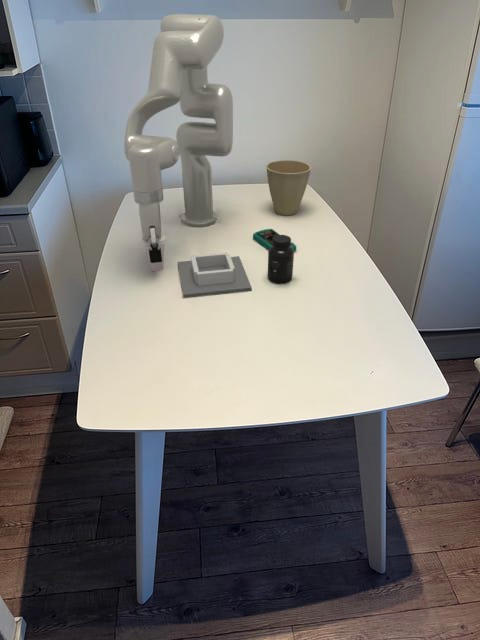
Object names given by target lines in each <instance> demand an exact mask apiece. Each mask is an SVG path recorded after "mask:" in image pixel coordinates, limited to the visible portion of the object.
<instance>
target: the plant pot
mask: <svg viewBox="0 0 480 640" xmlns="http://www.w3.org/2000/svg"><path fill="white" fill-rule="evenodd" d="M311 169H312V167H311V165H310V164H309V163H306V162H303V161H299V160H294V159H289V160H288V159H282V160H281V159H280V160H275V161H271V162H269V163H267V164H266V175H267V184H268V188H269V189H268V190H269V193H270V194H269V195H270V198H271V201H272V205H273V207H274V212H275V213H277V214H278V215H282V216H291V215H294V214H295V215H296V213H297V211H298V209H299V207H300V204H301V203H302V200H303V198H304V195H305V192H306V188H307V185H308V182H309V178H310V174H311Z"/></svg>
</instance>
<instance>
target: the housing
mask: <svg viewBox="0 0 480 640" xmlns="http://www.w3.org/2000/svg"><path fill="white" fill-rule="evenodd" d="M190 259H191V260H185V261H183V260H182V261H177V268H178V273H179V279H180V284H181V289H182V296H183V298H184V299H186V298H195V297H196V298H197V297H204V296H216V295H224V294H235V293H243V292H252V291H253V290H252V289H253V288H252V285H251V283H250V280H249V277H248V275H247V273H246V270H245V267H244V265H243V263H242V260H241V258H240V256H239V255H237V256H231V255H230V253H228V252H216V253H207V254H206V253H205V254H203V253H202V254H195V255H192V257H190Z"/></svg>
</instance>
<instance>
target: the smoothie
mask: <svg viewBox="0 0 480 640" xmlns="http://www.w3.org/2000/svg"><path fill="white" fill-rule="evenodd" d="M149 236H150V235H149ZM156 238H157V236H156ZM150 239H151V236H150ZM165 242H166V236H165V234H163V233H161V239H159V246H160V248H161V256H162V262H157V263H151V262H150V256H149V249H150V248H149V240H146V241H144V240H143V236H142V238H141V243H142V244H143V245H144V250H145V254H146V257H147V261H148V265H149V268H150V271H151V270H152V271H151V272H153V271H154V273H158V271H159V272H162V271H164V268H165V267H164V266H165V265H164V264H165V263H164V262H165ZM151 243H152V242H151ZM156 243H157V240H156Z"/></svg>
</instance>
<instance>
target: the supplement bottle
mask: <svg viewBox="0 0 480 640" xmlns="http://www.w3.org/2000/svg"><path fill="white" fill-rule="evenodd" d="M291 242H292V238H291V237H290V236H288V235H285V234H280V235H276V236H274V237H273V242H272V246H271V247H270V248H269V251H268V250H267V251H268V253H267V279H268V281H270V282H271V283H273V284H276V285H277V284H278V285H284V284H287V283H289V282H291V281H292V279H293V273H294V258H295V252H294V250H293V248H292V247H291Z"/></svg>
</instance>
